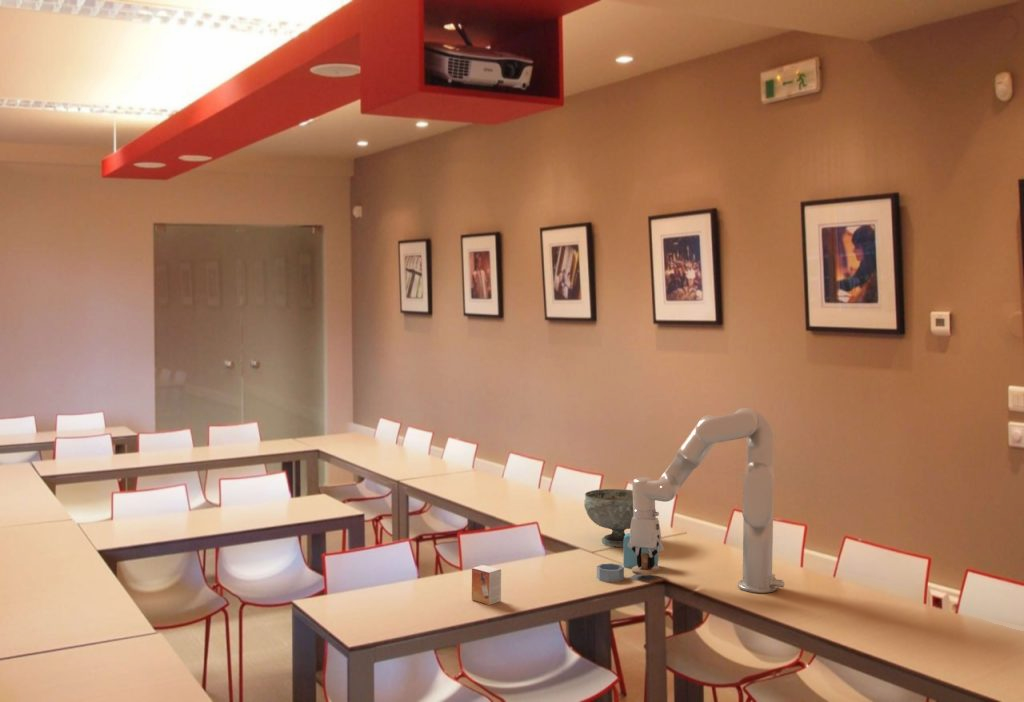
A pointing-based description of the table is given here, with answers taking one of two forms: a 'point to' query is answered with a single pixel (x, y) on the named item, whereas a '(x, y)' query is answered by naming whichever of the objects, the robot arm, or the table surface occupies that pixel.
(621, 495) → the decorative bowl
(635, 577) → the mat
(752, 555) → the robot arm
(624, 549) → the data package
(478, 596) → the small box
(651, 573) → the lid
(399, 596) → the table surface
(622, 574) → the bowl
